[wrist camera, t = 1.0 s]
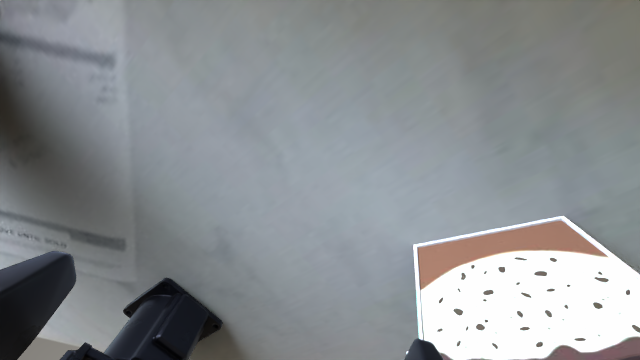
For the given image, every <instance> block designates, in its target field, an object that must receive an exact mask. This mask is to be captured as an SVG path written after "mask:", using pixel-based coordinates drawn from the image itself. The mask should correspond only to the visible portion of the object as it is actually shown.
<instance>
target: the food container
mask: <svg viewBox="0 0 640 360" xmlns="http://www.w3.org/2000/svg"><path fill="white" fill-rule="evenodd" d="M413 248H414V264H415V281H416V297H417V314H418V330H419V339H422V340H426V341H430V342H432V343H433V344H434V345H435V347H436V348H437V350H438V351H439V353H440V354H441V356H442V357H443V359H444V360H640V275H639V274H638V273H637V272H636V271H634V270H633V269H632V268H630V267H629V266H628V265H627V264H625V263H624V262H623V261H621V260H620V259H619V258H617V257H616V256H615V255H614V254H612V253H611V252H610V251H608V250H607V249H606V248H605V247H603V246H602V245H601V244H599V243H598V242H597V241H595V240H594V239H593V238H592V237H590V236H589V235H588V234H586V233H585V232H584V231H583V230H581V229H580V228H579V227H577V226H576V225H575V224H573V223H572V222H571V221H570V220H568V219H567V218H566V217H564V216H559V217H554V218H549V219H544V220H539V221H534V222H529V223H523V224H518V225H513V226H508V227H503V228H498V229H493V230H488V231H482V232H477V233H472V234H467V235H462V236H457V237H452V238H447V239H441V240H436V241H431V242H426V243H421V244H416V245H413ZM407 353H408V351H407V352H406V354H407Z"/></svg>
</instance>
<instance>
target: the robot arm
mask: <svg viewBox="0 0 640 360" xmlns="http://www.w3.org/2000/svg"><path fill="white" fill-rule="evenodd" d="M75 282H76V272H75V266H74V260H73V257H72V256H71V255H70V254H67V253H63V252H59V251H52V252H48V253H46V254H43V255H40V256H37V257H35V258H32V259H29V260H26V261H23V262H21V263H18V264H15V265H12V266H10V267H7V268H4V269H1V270H0V360H17V359H18V358H19V357H20V356H21V354H22V353H23V352H24V351H25V350H26V349H27V347H28V346H29V345H30V344H31V343H32V341H33V340H34V339H35V338H36V336H37V335H38V334H39V332H40V331H41V330H42V328H43V327H44V326H45V324H46V323H47V322H48V320H49V319H50V318H51V316H52V315H53V314H54V312H55V311H56V310H57V308H58V307H59V306H60V304H61V303H62V301H63V300H64V299H65V297H66V296H67V295H68V293H69V292H70V291H71V289H72V288H73V286H74V284H75ZM123 312H124V314H125V315H127V316H128V317H129V318H130V319H129V320H128V322H127V323H126V324H125V326H124V327H123V328H122V330H121V331H120V332H119V334H118V335H117V336H116V337H115V339H114V340H113V341H112V343H111V344H110V345H109V347H108V348H107V349H106V350H105V352H104V353H102V352H100V351H98V350H96V349H94V348H92V345H90V344H88V343H86V342H85V343H84V344H83V345H82V346H81V347H80V348H79V349H78V350H68V351H67V352H66V353H65V355H63V357H62V358H61V359H60V360H189V358H190V356H191V354H192V352H193V350H194V348H195V346H196V344H197V342H199V341H201V340H202V339H204V338H206V337H208V336H209V335H211V334H213V333H215V332H216V331H218V330H220V329H221V327H222V324H223V322H222V321H221V320H220V319H219V318H218V317H216V316H215V315H214V314H213V313H212V312H210V311H209V310H208V309H207V308H206V307H204V306H203V305H202V304H201V303H199V302H198V301H197V300H196V299H195V298H193V297H192V296H191V295H190V294H189V293H187V292H186V291H185V290H184V289H182V288H181V287H180V286H179V285H178V284H176V283H175V282H174V281H173V280H171V279H169V278H164V279H163V280H161V281H160V282H159V283H157V284H156V285H154V286H153V287H152V288H150V289H149V290H148V291H146V292H145V293H144V294H142V295H141V296H139V297H138V298H137V299H135V300H134V301H133V302H131V303H130V304H128V305H127V306H126V307H125V309H124V310H123ZM404 360H444V359H443V357H442V356H441V354H440V353H439V351H438V350H437V348H436V347H435V345H434V344H433V343H432V342H430V341H426V340H422V339H415V340H414V342H413V343H412V345H411V347H410V349H409V351H408V353H407V355H406V357H405V359H404Z"/></svg>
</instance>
